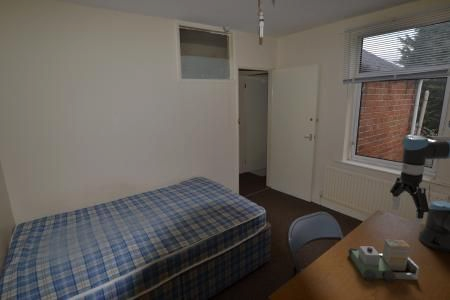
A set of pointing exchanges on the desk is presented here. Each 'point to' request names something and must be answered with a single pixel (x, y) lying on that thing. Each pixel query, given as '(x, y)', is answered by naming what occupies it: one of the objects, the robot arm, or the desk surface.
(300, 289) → the desk surface
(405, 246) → the supplement box
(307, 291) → the desk surface
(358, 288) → the desk surface
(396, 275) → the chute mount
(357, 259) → the toy wooden truck
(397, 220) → the desk surface
